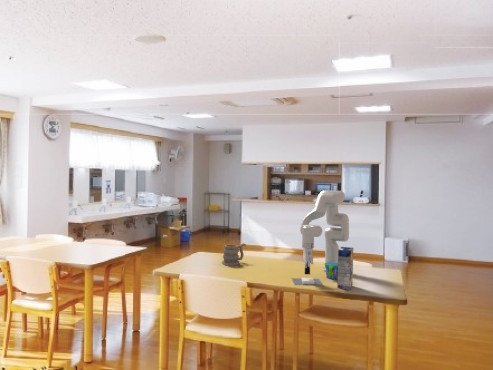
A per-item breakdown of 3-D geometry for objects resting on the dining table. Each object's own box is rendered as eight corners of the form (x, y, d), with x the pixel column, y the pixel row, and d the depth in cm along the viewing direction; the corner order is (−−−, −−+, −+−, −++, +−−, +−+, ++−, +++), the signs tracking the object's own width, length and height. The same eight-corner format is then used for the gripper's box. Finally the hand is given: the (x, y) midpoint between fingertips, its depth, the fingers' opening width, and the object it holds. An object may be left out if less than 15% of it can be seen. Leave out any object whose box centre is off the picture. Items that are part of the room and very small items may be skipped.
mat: (318, 279, 264) (318, 278, 264) (323, 286, 247) (323, 285, 247) (291, 279, 264) (291, 278, 264) (294, 286, 247) (294, 285, 247)
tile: (312, 277, 258) (314, 281, 250) (312, 281, 258) (314, 284, 250) (301, 277, 257) (303, 280, 249) (301, 281, 257) (303, 284, 249)
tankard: (227, 266, 299) (227, 246, 299) (219, 262, 310) (220, 243, 310) (250, 263, 309) (250, 244, 309) (242, 260, 320) (242, 242, 320)
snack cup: (328, 275, 277) (328, 260, 277) (343, 277, 272) (343, 262, 272) (321, 280, 264) (321, 264, 263) (336, 282, 259) (337, 266, 258)
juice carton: (340, 284, 254) (341, 246, 254) (352, 285, 251) (353, 247, 251) (337, 288, 243) (338, 249, 242) (349, 290, 240) (350, 250, 240)
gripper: (316, 247, 248) (315, 277, 248) (311, 243, 263) (311, 271, 263) (304, 247, 248) (303, 276, 248) (300, 243, 263) (299, 271, 263)
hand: (307, 274), depth 256 cm, fingers closed
